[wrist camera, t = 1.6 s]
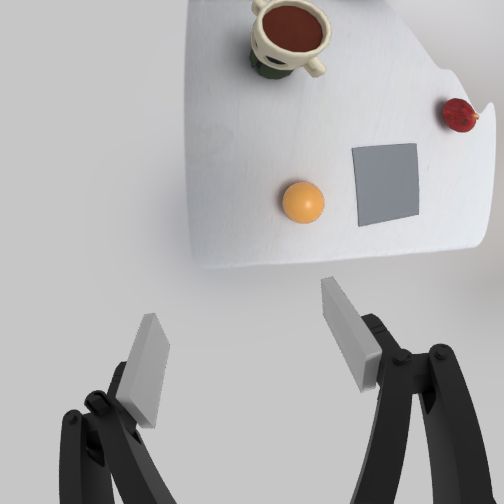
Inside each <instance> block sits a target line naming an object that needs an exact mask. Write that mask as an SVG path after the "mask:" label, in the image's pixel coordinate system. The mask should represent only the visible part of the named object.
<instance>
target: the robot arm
mask: <svg viewBox="0 0 504 504" xmlns="http://www.w3.org/2000/svg"><path fill="white" fill-rule="evenodd" d="M321 288H322V302H323V316H324V318H325V320H326V322H327V324H328V326H329V328H330V330H331V332H332V334H333V336H334V338H335V340H336V342H337V344H338V346H339V348H340V350H341V352H342V354H343V356H344V358H345V360H346V362H347V364H348V367H349V369H350V371H351V373H352V375H353V377H354V379H355V381H356V383H357V385H358V388H359V390H360V392H361V393H362V392H365V391H368V390H371V389H374V388H375V386H376V382H377V383H378V385H379V386H380V390H379V395H378V398H377V400H378V401H377V407H376V412H375V417H374V421H373V426H372V430H371V435H370V439H369V443H368V447H367V451H366V454H365V458H364V462H363V465H362V468H361V472H360V475H359V478H358V481H357V484H356V488H355V490H354V493H353V496H352V499H351V502H350V504H394V500H395V496H396V492H397V488H398V484H399V480H400V475H401V471H402V466H403V461H404V455H405V450H406V444H407V438H408V431H409V423H410V414H411V404H412V394H417V393H418V395H419V400H420V405H421V409H422V414H423V420H424V425H425V430H426V437H427V443H428V449H429V457H430V466H431V476H432V488H433V504H496V501H495V500H494V498H493V494H492V486H491V478H490V473H489V466H488V461H487V456H486V451H485V447H484V443H483V439H482V434H481V431H480V427H479V423H478V419H477V416H476V413H475V410H474V406H473V403H472V400H471V397H470V394H469V391H468V388H467V386H466V382H465V380H464V377H463V374H462V372H461V369H460V366H459V364H458V361H457V359H456V356H455V354H454V352H453V350H452V348H451V347H449V346H448V345H445V344H436V345H433V346H432V347H431V348H430V350H429V353H422V354H412V353H411V352H409V351H408V350H406V349H401V348H400V346H399V345H398V343H397V342H396V341H395V339H394V338H393V336H392V335H391V334H390V332H389V331H388V330H387V328H386V327H385V326H384V324H383V323H382V321H381V320H380V319H379V318H378V317H377V316H375V315H373V314H368V315H364V316H361V317H360V315H359V314H358V312H357V311H356V309H355V308H354V306H353V305H352V304H351V302H350V300H349V299H348V298H347V296H346V295H345V293H344V292H343V290H342V289H341V287H340V286H339V285H338V283H337V282H336V280H335V279H334V278H333V276H332V277H329V278H325V279H321ZM169 349H170V344H169V342H168V340H167V338H166V336H165V334H164V332H163V329H162V327H161V325H160V323H159V321H158V318H157V316H156V314H155V313H151V314H145V315H144V317H143V319H142V322H141V324H140V327H139V330H138V333H137V335H136V338H135V341H134V343H133V346H132V349H131V352H130V355H129V357H128V360H127V361H126V362H121V363H120V364H119V365H118V366H117V368H116V370H115V372H114V375H113V376H114V377H113V378H112V382H111V383H110V386H109V389H108V392H107V395H106V394H105V392H103V391H101V390H96V391H93V392H91V393H90V394H89V395H88V396H87V397H86V399H85V403H84V405H85V406H86V407H87V408H88V409H89V411H91V413H87V414H83V415H82V414H81V413H80V411H78V410H70V411H69V412H67V413H66V414H65V415H64V417H63V421H62V430H61V442H60V460H59V495H60V504H115V502H114V495H113V488H112V480H111V474H112V476H113V479H114V482H115V484H116V486H117V489H118V491H119V494H120V496H121V498H122V501H123V503H124V504H177V503H176V502H175V500H174V499H173V497H172V495H171V494H170V492H169V490H168V488H167V487H166V485H165V483H164V482H163V480H162V478H161V476H160V474H159V473H158V471H157V469H156V467H155V465H154V463H153V461H152V459H151V457H150V455H149V453H148V451H147V449H146V447H145V445H144V443H143V440H142V438H141V436H140V434H139V432H138V431H137V429H136V424H137V423H138V424H139V426H140V427H142V428H155V425H156V418H157V413H158V406H159V401H160V395H161V390H162V384H163V379H164V373H165V368H166V363H167V358H168V353H169Z"/></svg>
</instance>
